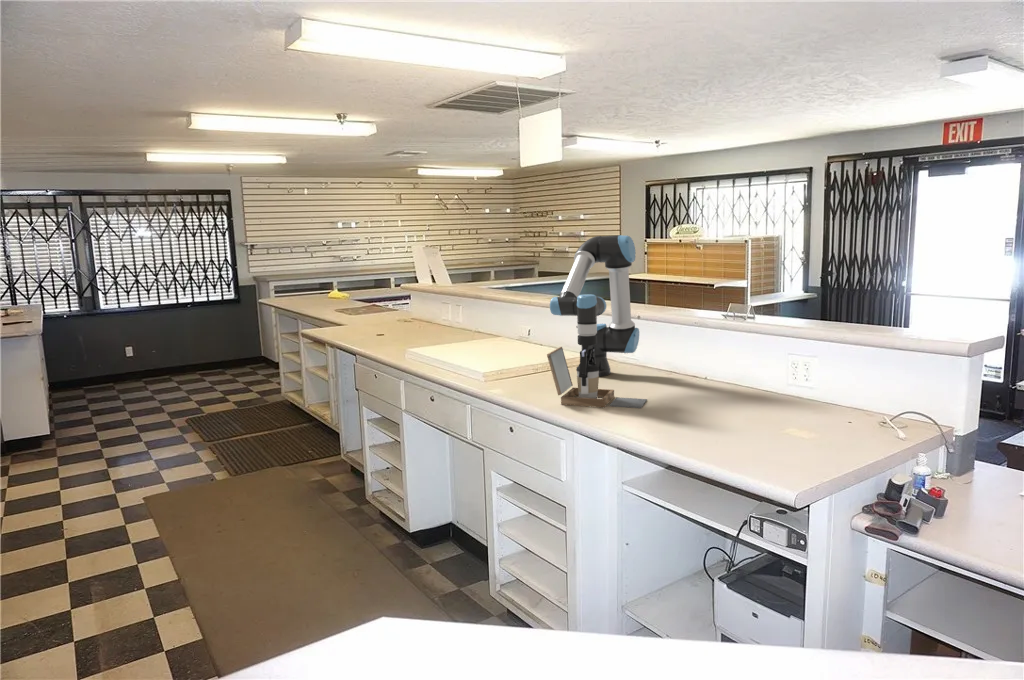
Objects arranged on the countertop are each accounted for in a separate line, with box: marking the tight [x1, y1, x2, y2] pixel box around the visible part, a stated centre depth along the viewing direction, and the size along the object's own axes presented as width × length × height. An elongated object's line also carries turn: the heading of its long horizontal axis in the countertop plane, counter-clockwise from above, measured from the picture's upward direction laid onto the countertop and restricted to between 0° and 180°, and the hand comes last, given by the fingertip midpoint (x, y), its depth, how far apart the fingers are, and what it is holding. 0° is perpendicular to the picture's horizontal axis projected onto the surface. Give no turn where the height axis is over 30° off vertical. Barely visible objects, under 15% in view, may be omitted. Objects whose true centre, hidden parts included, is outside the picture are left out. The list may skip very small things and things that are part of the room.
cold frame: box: [560, 387, 615, 408], centre depth 261 cm, size 17×17×3 cm
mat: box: [609, 396, 648, 409], centre depth 255 cm, size 12×12×1 cm
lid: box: [546, 346, 573, 396], centre depth 263 cm, size 17×17×1 cm
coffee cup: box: [575, 362, 600, 399], centre depth 260 cm, size 9×9×15 cm
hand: (588, 390), depth 260 cm, fingers closed on coffee cup, 9 cm apart
